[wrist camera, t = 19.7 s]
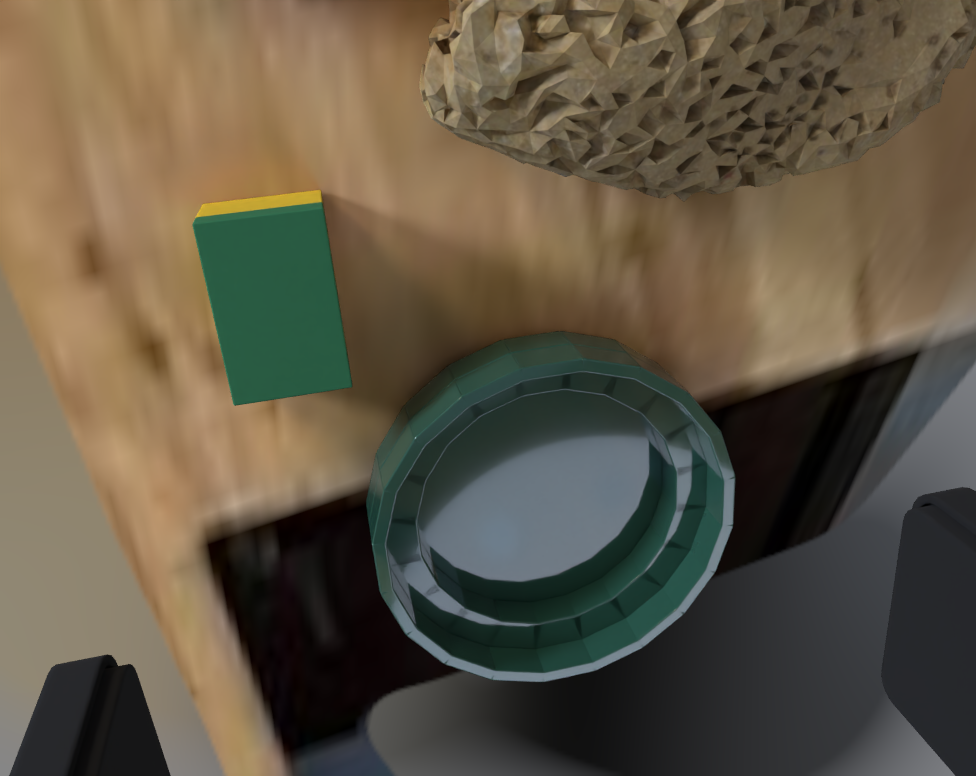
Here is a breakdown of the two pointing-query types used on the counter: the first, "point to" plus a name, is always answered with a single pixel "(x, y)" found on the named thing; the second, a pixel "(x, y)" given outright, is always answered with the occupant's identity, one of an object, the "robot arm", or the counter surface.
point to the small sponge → (273, 295)
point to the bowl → (547, 507)
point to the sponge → (690, 83)
